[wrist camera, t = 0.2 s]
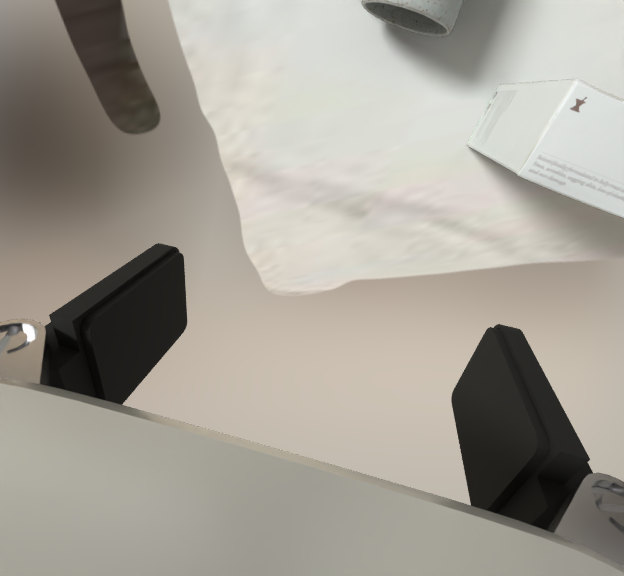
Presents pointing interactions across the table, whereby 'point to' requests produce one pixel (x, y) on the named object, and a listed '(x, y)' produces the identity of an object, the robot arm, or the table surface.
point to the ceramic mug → (417, 14)
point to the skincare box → (558, 139)
